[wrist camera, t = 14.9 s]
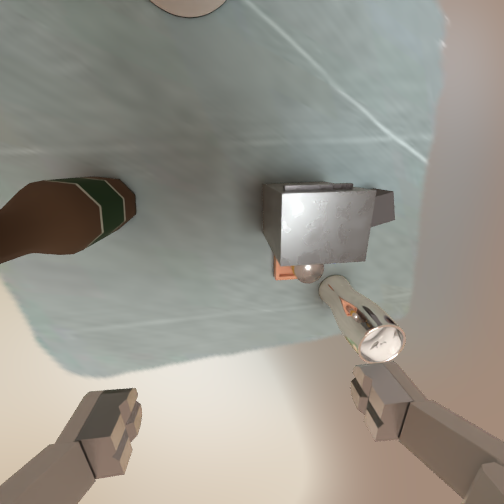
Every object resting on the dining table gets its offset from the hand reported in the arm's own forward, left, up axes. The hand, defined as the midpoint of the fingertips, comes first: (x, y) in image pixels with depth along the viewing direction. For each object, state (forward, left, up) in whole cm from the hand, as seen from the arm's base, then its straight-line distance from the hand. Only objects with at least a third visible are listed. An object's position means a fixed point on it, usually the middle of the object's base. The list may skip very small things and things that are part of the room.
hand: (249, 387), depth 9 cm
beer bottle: (-3, -18, -31) cm, 36 cm away
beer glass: (+15, +19, -31) cm, 39 cm away
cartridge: (+7, +11, -30) cm, 33 cm away
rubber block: (-1, +22, -31) cm, 38 cm away
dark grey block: (-1, +10, -31) cm, 33 cm away
